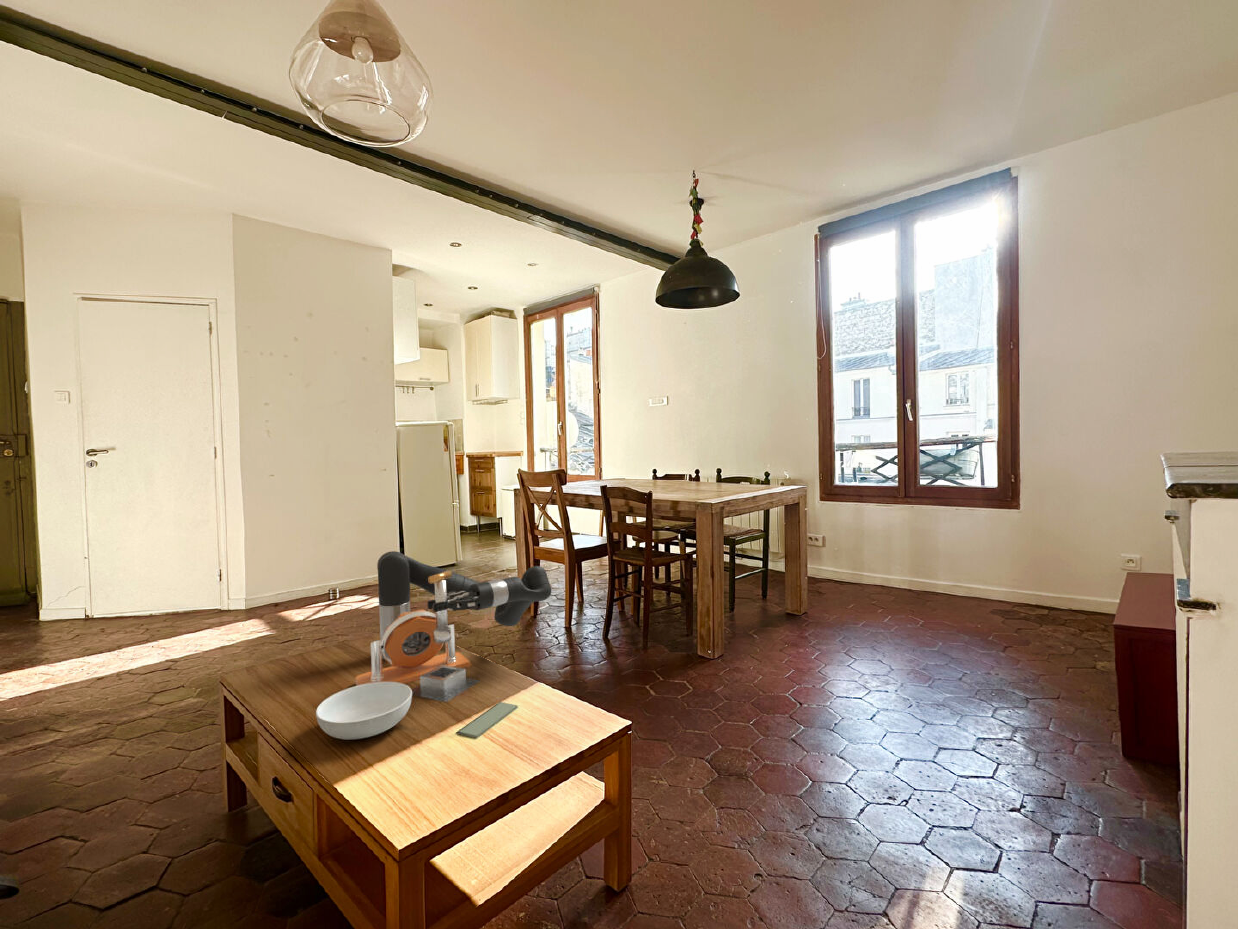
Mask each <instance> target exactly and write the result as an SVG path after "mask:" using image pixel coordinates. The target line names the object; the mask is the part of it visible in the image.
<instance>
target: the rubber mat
mask: <svg viewBox="0 0 1238 929" xmlns="http://www.w3.org/2000/svg"><path fill="white" fill-rule="evenodd" d="M518 708H519V707H518V705H517V704H512V703H508V702H503V701H499V702H497V703H496V704H494V705H493V706H492V707H490V708H489V709H488V710H486V711H484V712H483V713H481V714H480V715H479V716H477V717H476V718H475V719H473V720H471V721H470V722H469V723H467V724H466V725H464V726H463V727H461V728H460V729H459V730H458V731H456V732H455V734H458V735H461V736H467V737H470V738H474V739H478V738H479V737H480V736H482V735H483V734H485V733H486V732H487V731H489V730H490V729H491V728H493V727H494V726H495V725H497V724H498V723H499V722H501V721H502V720H503V719H504V718H506V717H507V716H509V715H510V714H511V713H512V712H514V711H516V710H517V709H518Z"/></svg>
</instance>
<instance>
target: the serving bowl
mask: <svg viewBox="0 0 1238 929" xmlns="http://www.w3.org/2000/svg"><path fill="white" fill-rule="evenodd" d="M412 698H413V695H412V689H411V687H410V686H408V685H407V684H406V683H404V684H402V683H397V682H374V683H367V684H362V685H358V686H356V685H355V686H352V687H348V688H346V689H342V690H340V691H338V692H336V693H334V694H332V695H330V696H328V697H327V698H326V699H324V700H323V701H322V702H321V703H320V704H319V705H318V706H317V708H316V710H315V716H316V721H317V723H318V725H319V727H320V729H321V730H322V731H324V732H323V733H326V734H327V735H328V736H330V737H332V738H336V739H338V740H339V739H341V740H348V741H349V740H361V739H365V738H366V739H367V738H371V737H374V736H377V735H379V734H383V733H384V732H386V731H387V730H389V729H391V728H393V727H394V726H396V725H397V724H398V723H399V722H400V721H401V720H402V719H404V717H405V716H406V714H407V713H408V711H409V709H410V707H411V703H412V700H413V699H412Z"/></svg>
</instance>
